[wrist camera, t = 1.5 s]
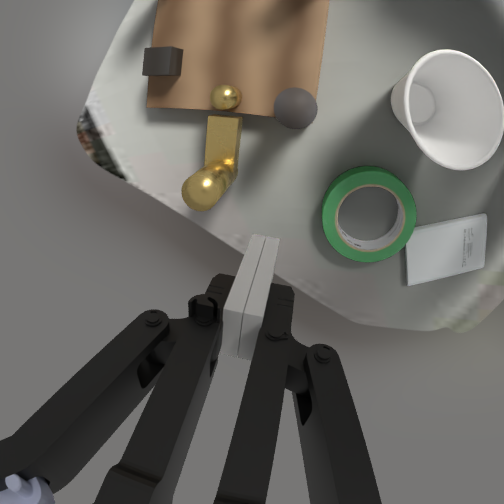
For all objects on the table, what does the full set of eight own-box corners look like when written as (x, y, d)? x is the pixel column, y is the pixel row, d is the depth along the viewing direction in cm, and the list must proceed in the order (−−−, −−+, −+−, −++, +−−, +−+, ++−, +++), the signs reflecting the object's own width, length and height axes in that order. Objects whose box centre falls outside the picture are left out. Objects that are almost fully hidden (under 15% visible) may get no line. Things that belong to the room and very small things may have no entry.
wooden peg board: (331, -23, 20) (338, -65, 11) (311, 121, 30) (313, 132, 21) (173, -27, 22) (128, -56, 13) (156, 106, 31) (104, 115, 22)
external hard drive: (401, 227, 34) (482, 210, 30) (405, 280, 38) (479, 263, 34) (404, 233, 33) (488, 215, 29) (407, 287, 36) (484, 269, 32)
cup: (464, 92, 24) (518, 98, 14) (431, 161, 29) (476, 192, 19) (392, 44, 23) (429, 25, 14) (359, 119, 28) (383, 130, 19)
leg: (216, 84, 27) (187, 82, 20) (247, 87, 26) (227, 84, 20) (207, 182, 32) (181, 208, 26) (236, 186, 32) (216, 214, 25)
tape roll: (302, 203, 35) (301, 211, 32) (376, 146, 30) (382, 150, 27) (355, 266, 38) (357, 278, 35) (424, 219, 33) (432, 229, 30)
